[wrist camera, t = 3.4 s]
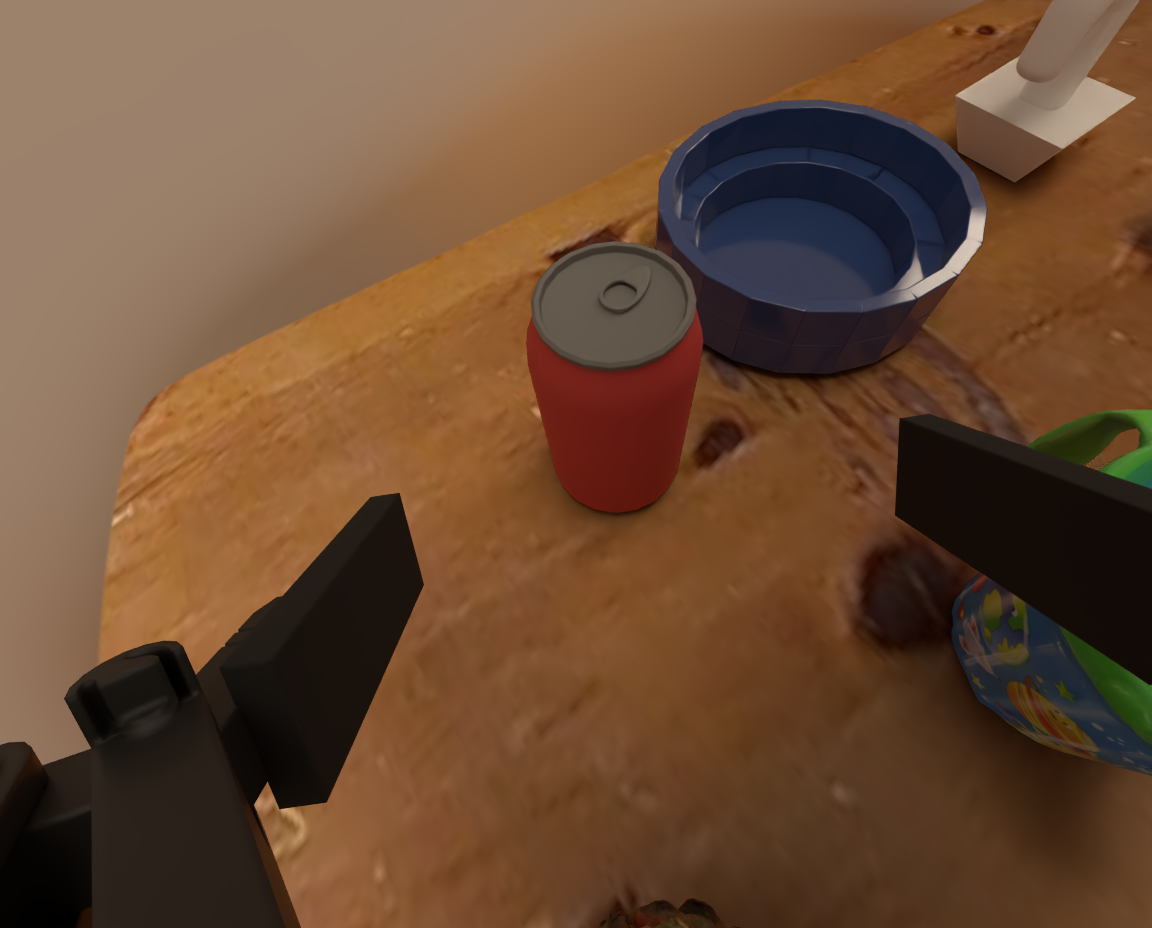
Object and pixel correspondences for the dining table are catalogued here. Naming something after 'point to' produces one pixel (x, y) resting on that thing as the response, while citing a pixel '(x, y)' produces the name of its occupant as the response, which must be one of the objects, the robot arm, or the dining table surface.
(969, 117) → the figurine
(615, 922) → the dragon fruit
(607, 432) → the beer can
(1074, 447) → the snack cup
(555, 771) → the dining table surface
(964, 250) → the bowl
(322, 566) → the robot arm
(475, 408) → the dining table surface
